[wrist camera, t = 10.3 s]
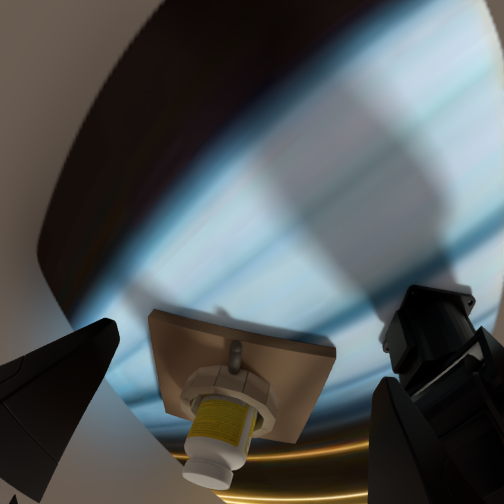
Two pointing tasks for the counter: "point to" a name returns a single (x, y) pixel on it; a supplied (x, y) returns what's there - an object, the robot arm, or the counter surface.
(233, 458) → the supplement bottle
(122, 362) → the counter surface
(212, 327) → the dock
